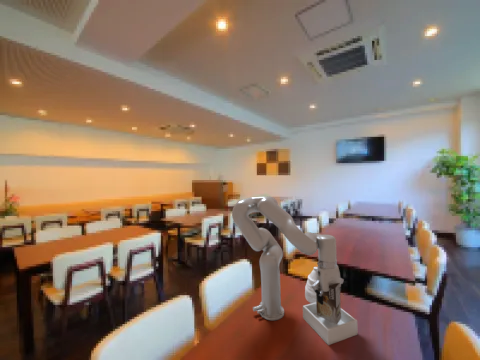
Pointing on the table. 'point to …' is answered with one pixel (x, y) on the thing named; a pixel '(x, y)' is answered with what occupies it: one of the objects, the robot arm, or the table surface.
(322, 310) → the coffee box
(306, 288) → the honey pot
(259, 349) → the table surface
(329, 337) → the bin
